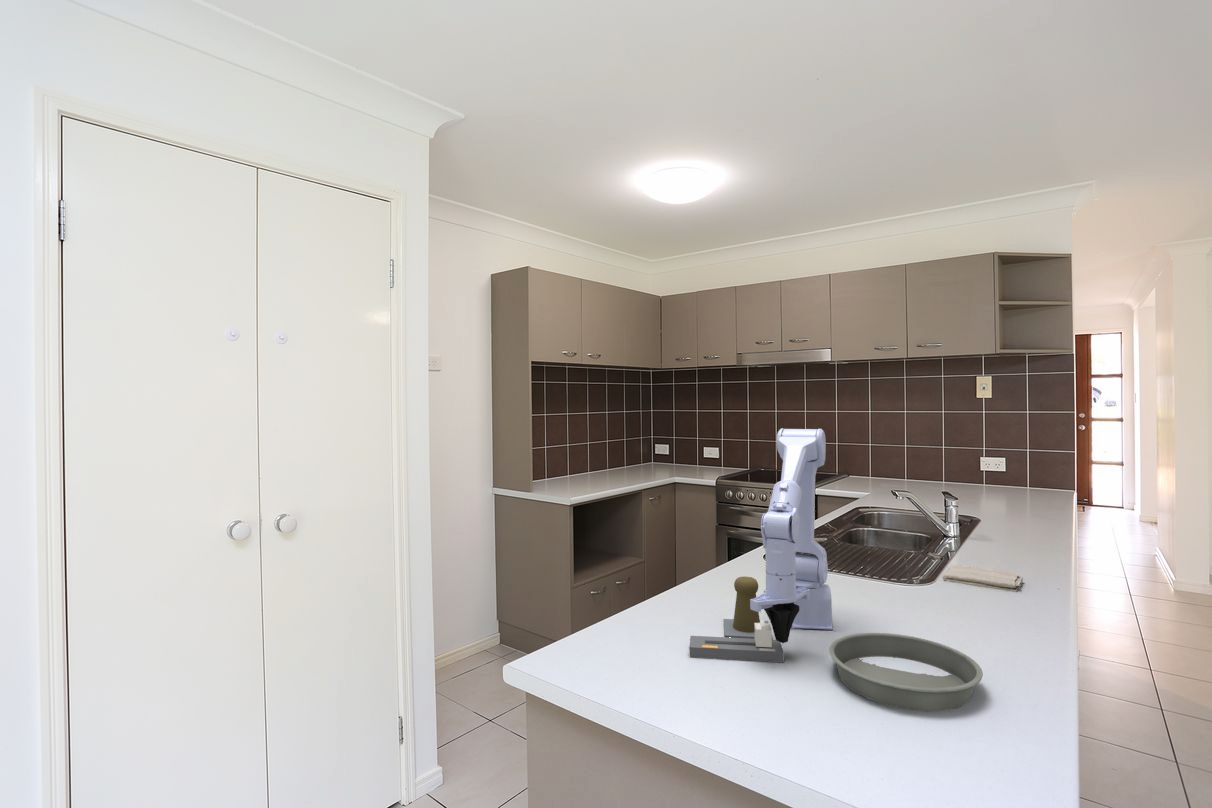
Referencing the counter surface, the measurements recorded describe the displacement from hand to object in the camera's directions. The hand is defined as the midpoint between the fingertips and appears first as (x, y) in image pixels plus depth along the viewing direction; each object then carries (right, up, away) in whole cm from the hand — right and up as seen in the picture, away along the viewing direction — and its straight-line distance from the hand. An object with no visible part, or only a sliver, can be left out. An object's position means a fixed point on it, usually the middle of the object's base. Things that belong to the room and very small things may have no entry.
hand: (781, 640), depth 120 cm
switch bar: (-9, -3, +2) cm, 10 cm away
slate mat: (-4, -3, +14) cm, 15 cm away
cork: (-4, -3, +14) cm, 15 cm away
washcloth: (+69, -3, +47) cm, 83 cm away
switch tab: (-4, -1, +1) cm, 4 cm away
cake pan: (+18, -3, -11) cm, 22 cm away
